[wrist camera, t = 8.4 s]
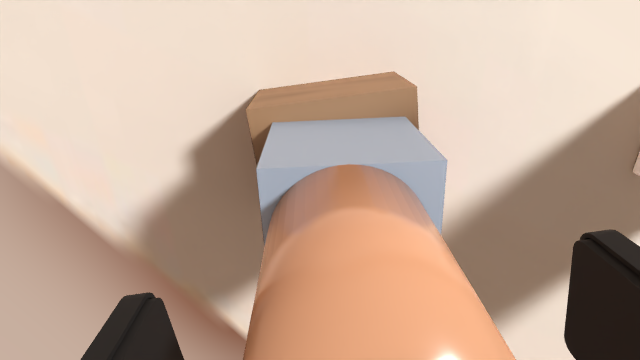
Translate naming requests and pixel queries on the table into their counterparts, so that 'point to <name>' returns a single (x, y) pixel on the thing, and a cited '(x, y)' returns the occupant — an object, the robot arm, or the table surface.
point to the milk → (637, 166)
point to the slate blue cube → (350, 158)
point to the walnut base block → (332, 103)
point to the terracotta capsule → (363, 278)
